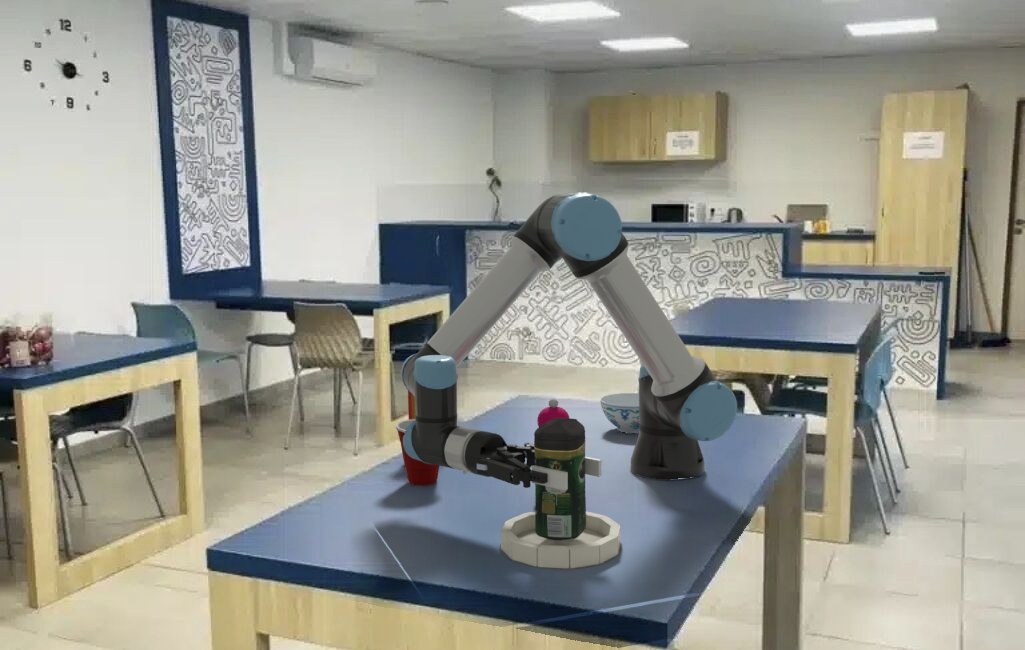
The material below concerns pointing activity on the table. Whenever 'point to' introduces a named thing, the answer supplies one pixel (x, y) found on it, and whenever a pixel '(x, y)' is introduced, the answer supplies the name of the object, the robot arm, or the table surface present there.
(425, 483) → the plastic cup
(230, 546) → the table surface
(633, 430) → the chinaware
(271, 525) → the table surface
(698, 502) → the table surface
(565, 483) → the robot arm
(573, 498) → the coffee jar
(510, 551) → the bowl
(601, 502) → the table surface
